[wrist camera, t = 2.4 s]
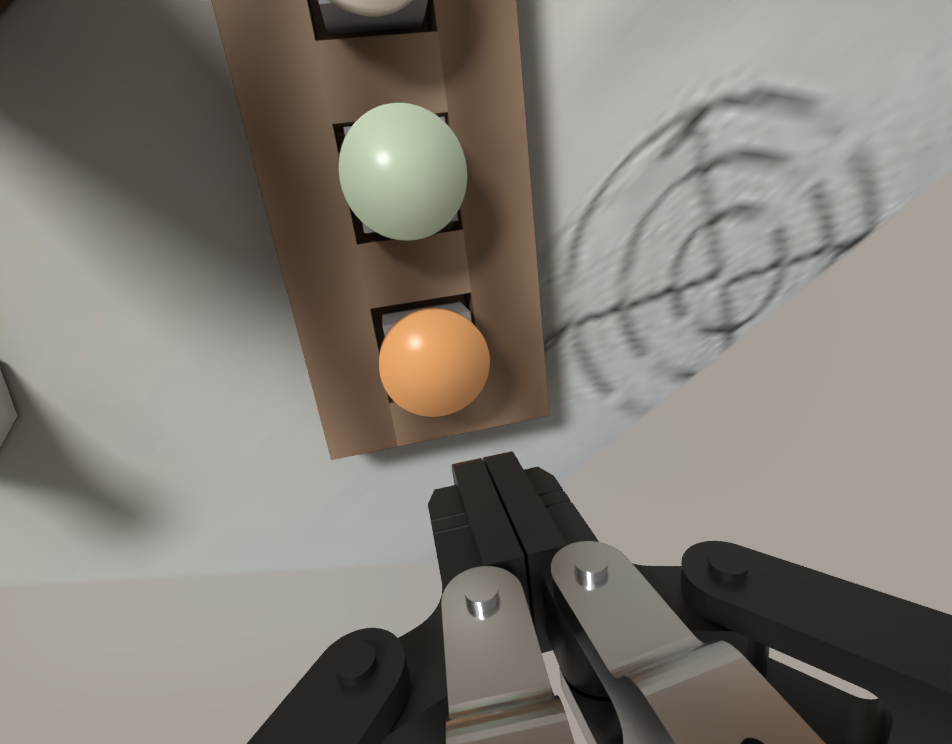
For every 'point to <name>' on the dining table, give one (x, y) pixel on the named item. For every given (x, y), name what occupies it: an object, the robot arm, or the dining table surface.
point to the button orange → (433, 359)
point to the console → (371, 254)
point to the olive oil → (4, 5)
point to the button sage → (402, 171)
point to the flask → (5, 410)
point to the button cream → (371, 15)
